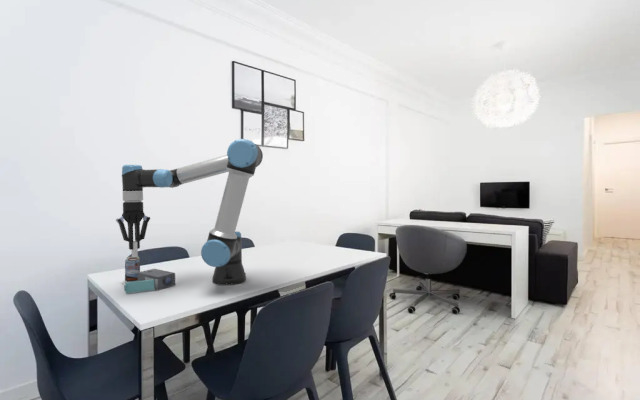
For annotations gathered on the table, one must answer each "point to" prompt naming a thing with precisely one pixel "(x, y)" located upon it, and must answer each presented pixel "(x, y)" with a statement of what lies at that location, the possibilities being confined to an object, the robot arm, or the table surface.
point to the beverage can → (132, 269)
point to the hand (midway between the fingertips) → (134, 256)
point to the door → (140, 286)
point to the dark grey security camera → (158, 277)
